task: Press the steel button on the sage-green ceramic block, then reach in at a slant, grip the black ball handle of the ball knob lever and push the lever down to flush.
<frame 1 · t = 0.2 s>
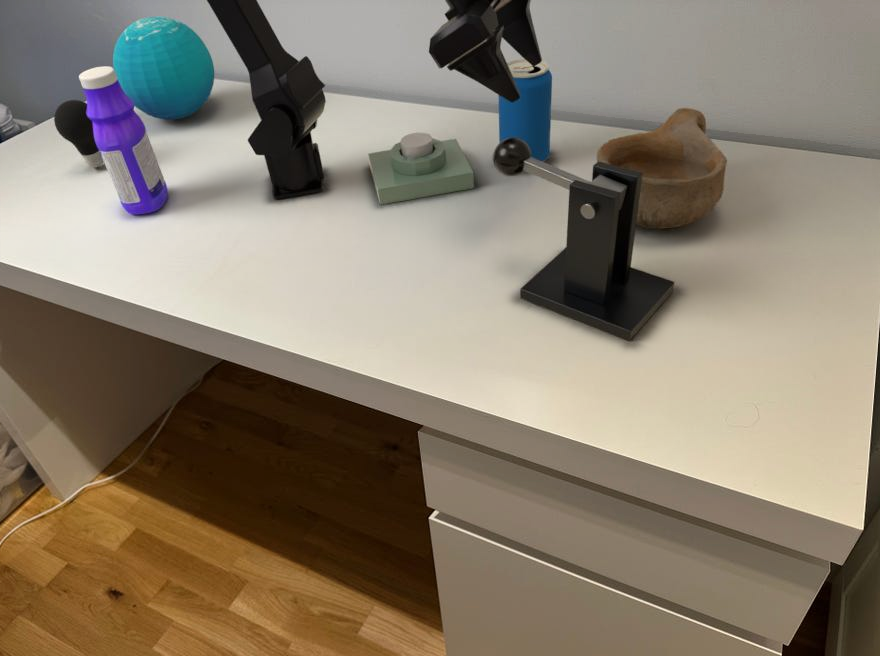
hand: (527, 81, 74), 15 cm above the table, tool tilted 30°, fingers open, 9 cm apart
ball knob lever: (555, 175, 65), point 12 cm above the table, hinge at 8.0°
bottle: (148, 205, 94), on the table
light bulb: (98, 169, 103), on the table
bowl: (656, 206, 81), on the table
decorative orb: (180, 116, 115), on the table
button block: (420, 178, 91), on the table
beverage can: (524, 161, 92), on the table
flush button: (416, 145, 88), point 4 cm above the table, slide at 0.1 cm
lever bracket: (595, 294, 70), on the table
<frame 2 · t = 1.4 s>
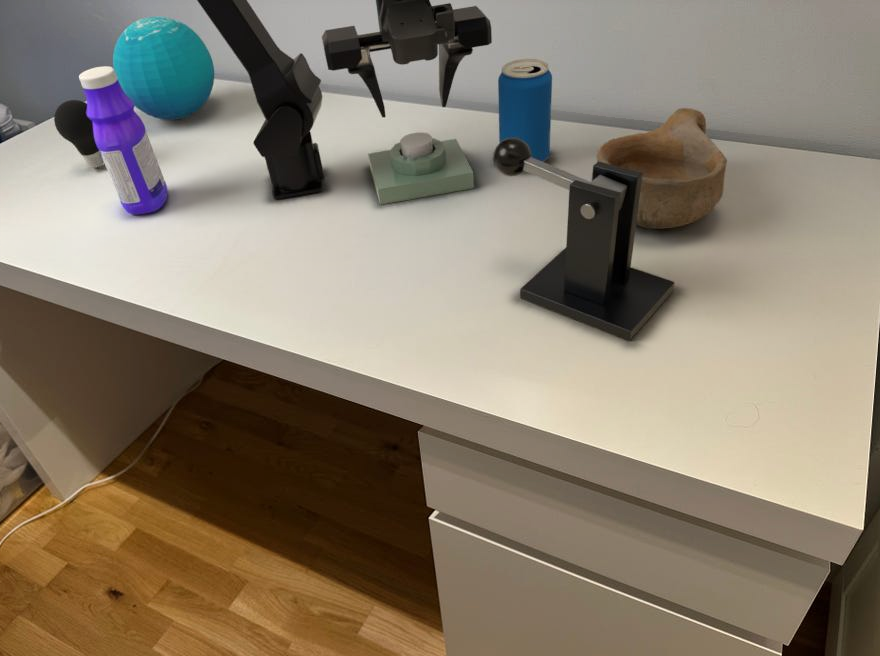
hand: (413, 111, 85), 9 cm above the table, tool pointing down, fingers open, 7 cm apart
nothing on the table moved.
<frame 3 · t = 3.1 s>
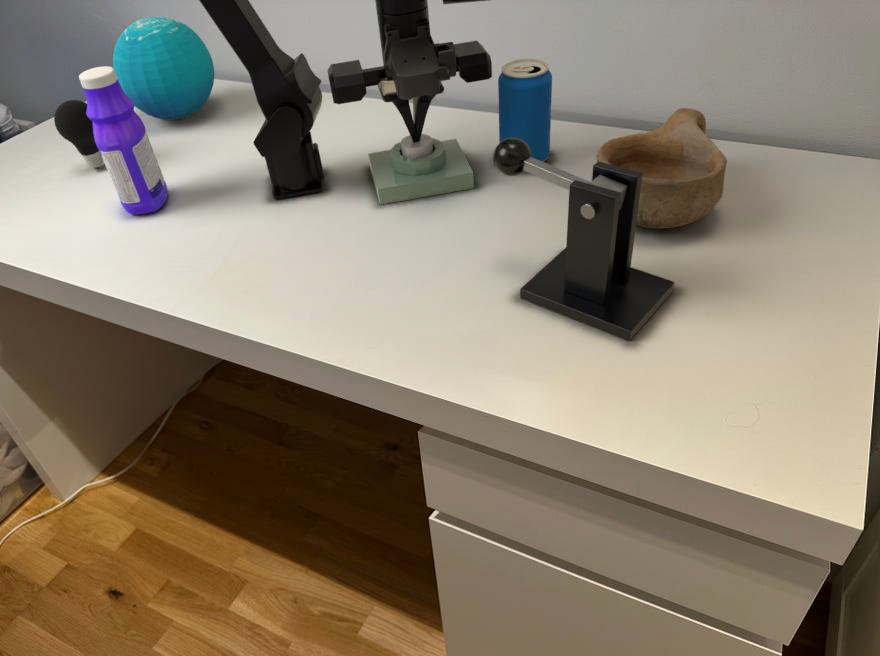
hand: (415, 140, 88), 5 cm above the table, tool pointing down, fingers closed, pressing on flush button
flush button: (417, 147, 88), point 4 cm above the table, slide at -0.1 cm, touching gripper
everything else where it was.
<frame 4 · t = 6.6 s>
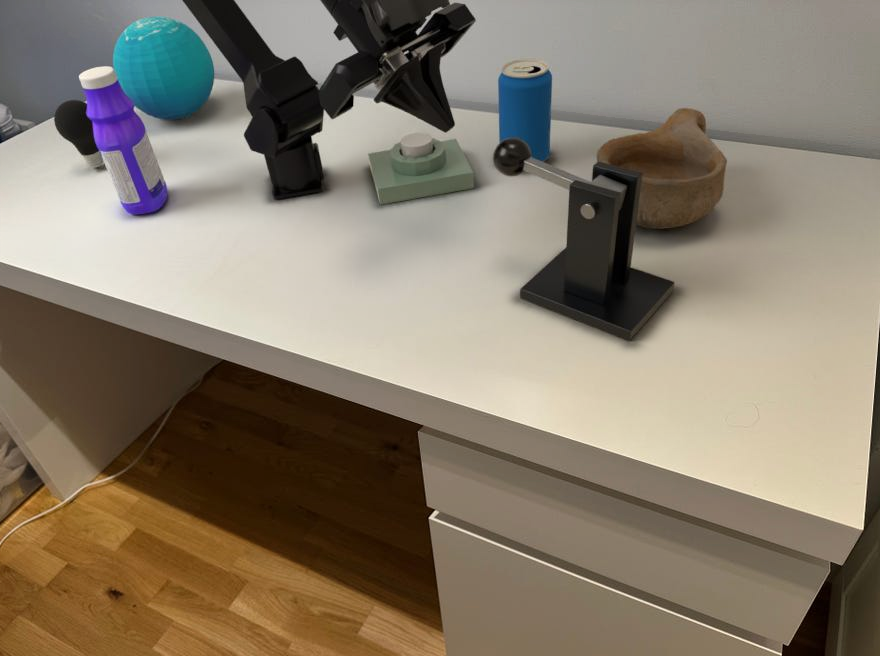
hand: (450, 129, 70), 13 cm above the table, tool tilted 45°, fingers closed
flush button: (416, 145, 88), point 4 cm above the table, slide at 0.1 cm
everything else where it was.
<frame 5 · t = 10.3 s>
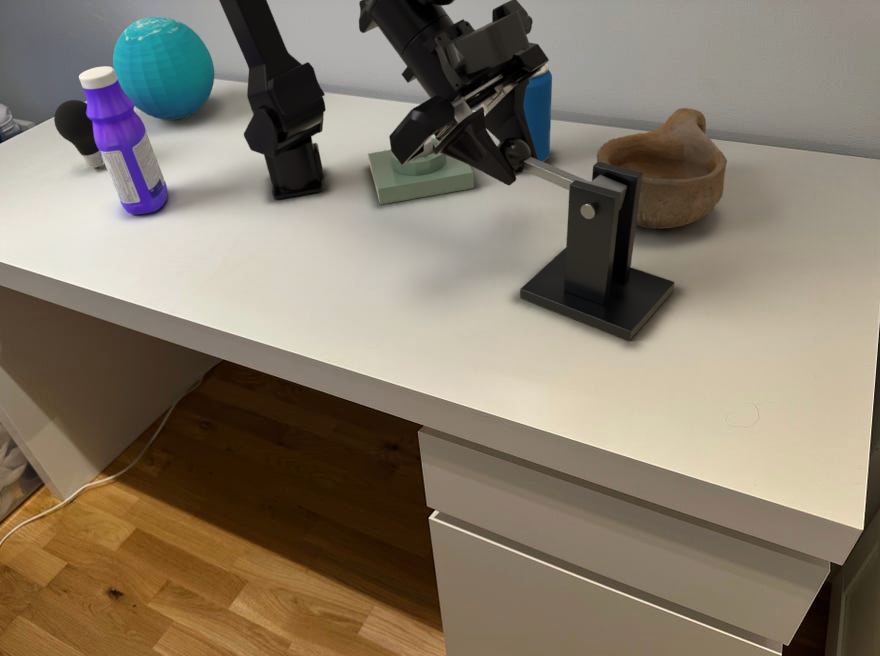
hand: (524, 174, 67), 11 cm above the table, tool tilted 45°, fingers closed on ball knob lever, 3 cm apart
ball knob lever: (555, 175, 65), point 12 cm above the table, hinge at 8.0°, touching gripper
everything else where it was.
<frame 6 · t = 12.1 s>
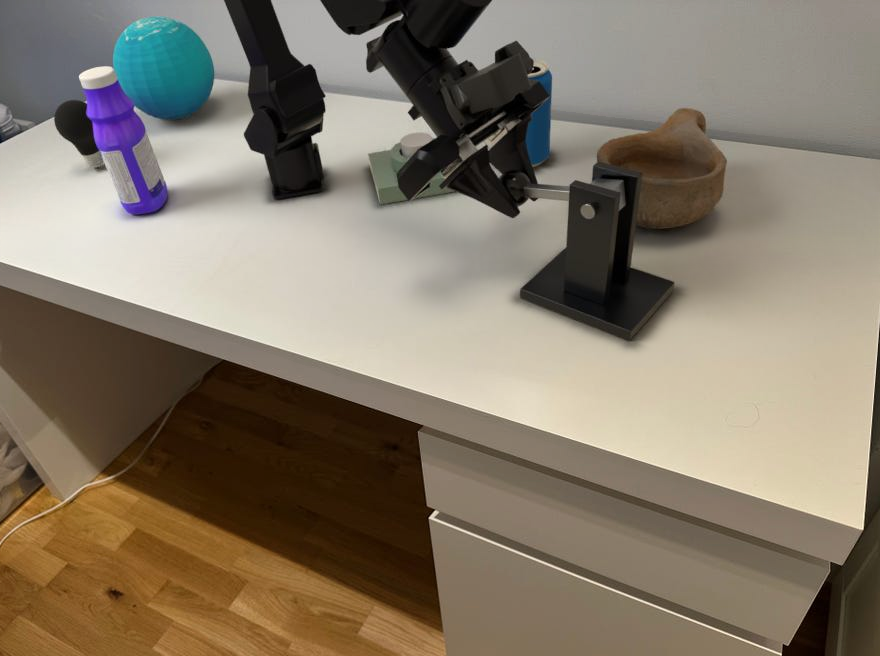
hand: (527, 207, 69), 7 cm above the table, tool tilted 45°, fingers closed on ball knob lever, 3 cm apart
ball knob lever: (554, 192, 66), point 10 cm above the table, hinge at -11.3°, touching gripper
everything else where it was.
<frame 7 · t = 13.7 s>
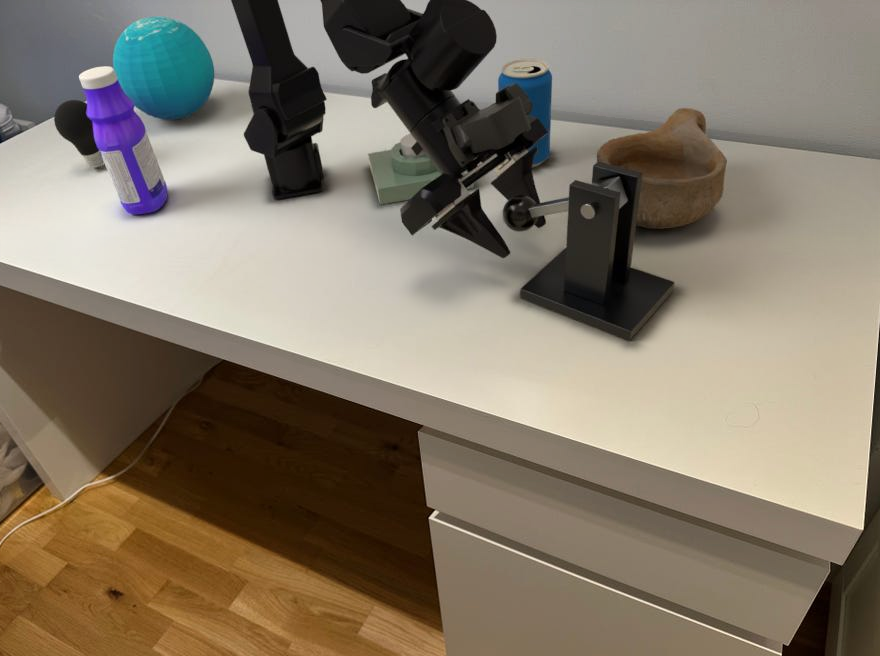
hand: (525, 240, 72), 4 cm above the table, tool tilted 45°, fingers open, 6 cm apart
ball knob lever: (558, 205, 66), point 9 cm above the table, hinge at -26.5°
everything else where it was.
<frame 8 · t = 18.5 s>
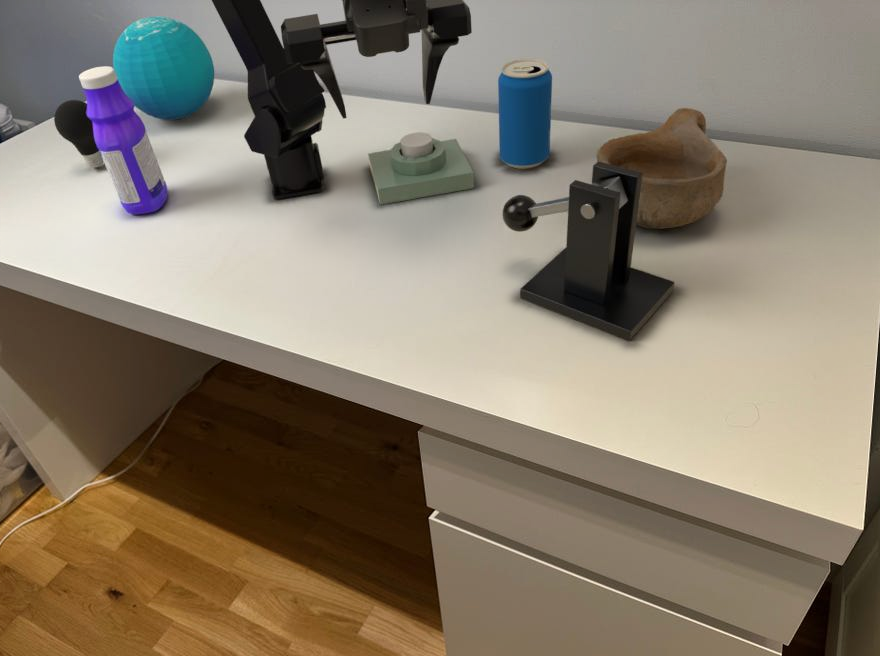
hand: (386, 109, 76), 13 cm above the table, tool pointing down, fingers open, 9 cm apart
nothing on the table moved.
at the end: flush button pushed in 1.1 cm at the most during the clip, back to where it started at the end; flush button slide at 0.1 cm; ball knob lever at -26° (first picture: +8°) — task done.
